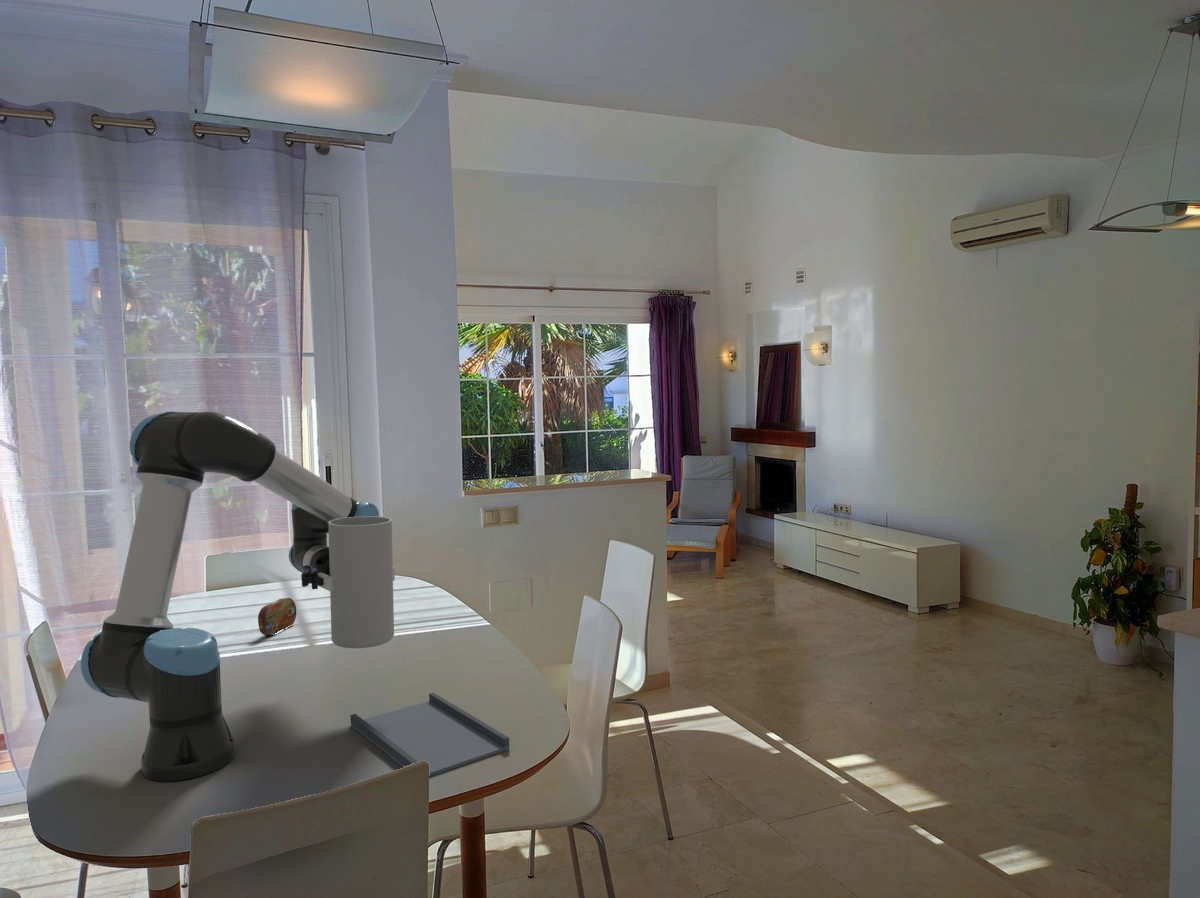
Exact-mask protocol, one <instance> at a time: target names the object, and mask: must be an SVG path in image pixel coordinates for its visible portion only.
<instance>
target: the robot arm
mask: <svg viewBox="0 0 1200 898" xmlns="http://www.w3.org/2000/svg"><path fill="white" fill-rule="evenodd" d="M129 454H130V456H132V457H133V458H132V460H133V463H135V464H136V465H137V469H136V475H135V476H136V477H137V478H138V480H139V481H140V482H141V484H142V489H141V492H140V497H139V502H138V507H137V511H136V515H135V516H136V517H135V520H134V524H133V528H132V534H131V539H130V543H129V547H128V552H127V557H126V561H125V566H124V570H123V575H122V579H121V584H120V588H119V593H118V598H117V602H116V607H115V611H114V612H113V613H112V614H111V615H109V616H108V617H106V618H105V619H104V620H103V623H102V628H101V631H100V632H98V633H97V634H95V635H93V638H92V639H91V640H89V641H88V642H87V644H86V645H85V646H84V648H83V651H82V654H81V656H80V657H81V658H80V671H81V675H82V677H83V680H84V681H85V683H87V685H88V686H89V687H90V688H91V689H92V690H93V691H95V692H97V693H100V694H104V695H105V696H108V697H111V698H117V699H119V698H120V699H121V698H122V699H127V700H132V701H138V702H143V703H147V704H148V712H149V713H148V714H149V715H148V716H149V731H148V734H147V739H146V743H145V747H144V752H143V753H142V756H141V759H140V764H141V767H140V768H141V774H142V776H143V777H145V778H146V779H148V780H151V781H156V782H175V781H176V782H177V781H183V780H184V781H185V780H190V779H193V778H198V777H201V776H205V775H208V774H210V773H212V772H215V771H217V770H219V769H222V768H224V767H225V766H226V765H227V764H229V763H230V762H231V761H233V759H234V758H235V755H236V744H235V743H236V742H235V739H234V737H233V735H232V734H231V731H230V728H229V726H228V723H227V722H226V719H225V717H224V715H223V705H222V684H221V682H222V681H221V665H220V664H221V662H220V660H221V656H220V651H219V648H218V642H217V639H216V637H215V636H214V635H213V634H212V633H211V632H209V631H207V630H205V629H199V628H197V627H196V628H195V627H185V628H181V627H174V624H173V623H172V622H171V621H170V619H169V617H168V611H169V606H170V601H171V595H172V590H173V586H174V581H175V576H176V572H177V567H178V562H179V557H180V552H181V547H182V542H183V538H184V533H185V528H186V523H187V518H188V513H189V510H190V509H189V508H190V504H191V499H192V493H193V492H194V491H196V490H197V489H199V488H200V487H202V486H203V484H204V483H203V482H204V478H205V473H216V474H223V475H229V476H232V477H235V478H237V479H238V480H241V481H242V482H244V483H252V482H254V483H256V484H258V485H260V486H261V487H264V488H265V489H267V490H268V491H271V492H272V493H274V494H276V495H277V496H279V497H281V498H282V499H285V500H286V501H288V502H290V503H291V509H290V511H291V512H290V513H291V521H292V522H291V523H292V535H293V537H292V546H291V547H290V549H289V551H288V561H289V563H290V565H291V566H292V567H293V568H294V569H296V570H297V572H300V573H301V576H300V577H301V587H303V588H306V587H308V586H309V585H311V590H318V587H320V588H323V590H326V591H328V592H330V591H333V577H331V576H330V565H329V545H328V534H329V527H328V522H329V521H331V520H335V519H340V518H348V517H364V516H375V517H380V511H379V509H378V507H377V506H376V505H375V504H374V503H372V502H367V501H363V500H362V501H358V500H356V499H354V498H352V497H350V496H349V495H348V494H346V493H344V492H343V491H342V490H340V489H339V488H336V487H335V486H333V484H330V483H329V482H328V481H326V480H324V479H323V478H321V477H319V476H318V475H317V474H315V473H313V472H312V471H311V470H309V469H308V468H306V467H304V466H302V465H301V464H299V463H298V462H296V461H295V460H293V459H292V458H290V457H289V456H287V455H286V454H284V453H282V452H281V451H279V450H278V449H277V446H276V444H275V442H274V441H273V440H271V438H269V437H267V436H265V435H264V434H263V433H261V432H260V431H257V430H256V429H254V428H252V426H250V425H248V424H246V423H243V422H242V421H240V420H237V419H236V418H234V417H231V416H229V415H226V414H224V413H220V412H215V411H200V412H199V411H198V412H197V411H194V412H193V411H165V412H162V413H161V412H160V413H155V414H151V415H149V416H147V417H146V418H144V419H143V420H141V421H140V422H139V423H138V424H137V425H136V427H135V428H134V430H132V433H131V436H130V439H129ZM395 580H396V579H395V567H393V582H394V581H395Z"/></svg>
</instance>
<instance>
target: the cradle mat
mask: <svg viewBox="0 0 1200 898" xmlns="http://www.w3.org/2000/svg"><path fill="white" fill-rule="evenodd" d="M428 700H429V701H428ZM428 700H427V701H424V702H420V703H417V704H413V705H411V706H406V707H403V708H399V709H397V710H396V709H395V710H392V711H388V712H384V713H382V714H377V715H375V716H370V717H366V718H361V716H359V715H358V714H357V713H353V714H349V715H350V716H349V717H350V718H349V719H350V727H352V726H353V727H354V728H355V729H356V731H357V732H358V731H359V732H360V733H361V734H360V733H359V732H358V733H359V734H360V735H362V734H363V735H364V736H365V737H366V738H365V739H367V740H368V741H369V740H370V741H371V742H370V741H369V742H370V743H372V742H373V743H374V744H375V745H377V746H378V747H379V748H380V749H381V750H380V749H379V748H378V747H377V746H376V747H377V748H378V749H379V750H380V751H382V750H383V751H384V752H385V753H386V754H385V753H384V752H383V751H382V752H383V753H384V754H385V755H387V754H388V755H389V756H390V757H391V758H390V757H389V756H388V755H387V756H388V757H389V758H390V759H392V760H393V761H394V762H395V763H397V765H399V766H400V767H401V768H403V766H407V765H410V764H412V763H416V762H418V761H422V760H426V761H428V762H429V764H430V776H429V777H433V776H434V775H437V774H438V775H439V774H440V773H444V772H447V771H449V770H452V769H453V770H454V769H455V768H459V767H462V766H464V765H467V764H470V763H472V762H475V761H479V760H482V759H485V758H488V757H491V756H495V755H497V754H500V753H502V752H503V753H504V752H505V751H509V750H510V737H508V735H505V734H504V733H502V732H500V731H499V730H497V729H495V728H494V727H492V726H490V725H489V724H487V723H485V722H483V720H480V719H478V718H477V717H475V716H474V715H472V714H470V713H468V712H467V711H465V710H464V709H462V708H460V707H458V706H457V705H455V704H454V703H452V702H450V701H449V700H447V699H445V698H444V697H442V696H440V695H439V694H437V693H435V692H434V691H433V692H430V693H428ZM353 727H352V728H353ZM354 728H353V729H354ZM355 729H354V730H355ZM363 735H362V736H363ZM364 736H363V737H364ZM373 743H372V744H373ZM374 744H373V745H374ZM375 745H374V746H375Z"/></svg>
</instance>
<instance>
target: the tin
mask: <svg viewBox="0 0 1200 898" xmlns="http://www.w3.org/2000/svg"><path fill="white" fill-rule="evenodd" d="M296 619H297V605H296V603H295V601H294V600H293V598H291V597H285V598H284V597H283V598H278V599H276V600H275V601H273V602H270V603H268V604H266V605H264V606H263V607H261V608H260V611H259V612H258V616H257V621H258V622H257V623H258V624H257V625H258V629H259V632H260V633H261V635H263V636H272V635H273V634H275V633H277V632H278V631H280V630H282V629H285V628H286V627H288V626H290V625H292V624H293V625H294V623H295V621H296ZM293 625H292V626H293Z"/></svg>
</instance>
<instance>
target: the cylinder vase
mask: <svg viewBox="0 0 1200 898" xmlns="http://www.w3.org/2000/svg"><path fill="white" fill-rule="evenodd" d="M328 527H329V533H328V547H329V565H330V576H331V577H333V591H329V592H330V593H329V595H330V596H329V598H330V599H329V601H330V602H329V603H330V626H331V627H330V636H331V643H333V644H334V645H335V646H337V647H340V648H345V649H367V648H373V647H378V646H381V645H385V644H386V643H389V642H390V641H391V640H393V639H394V636H395V615H394V614H395V611H394V606H395V605H394V581H393V568H394V565H393V564H394V562H393V558H394V557H393V529H392V528H393V520H392V518H391V517H385V516H379V517H375V516H364V517H348V518H340V519H335V520H331V521H329V522H328Z"/></svg>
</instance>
